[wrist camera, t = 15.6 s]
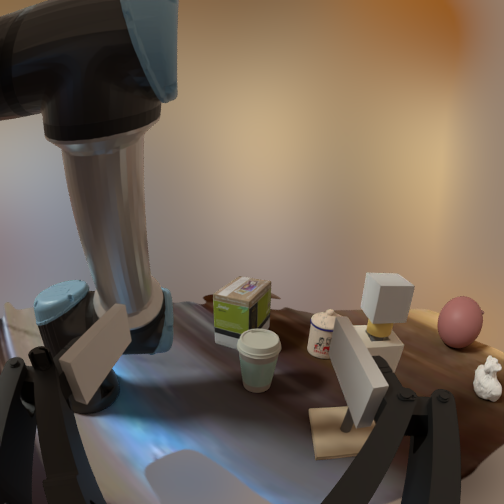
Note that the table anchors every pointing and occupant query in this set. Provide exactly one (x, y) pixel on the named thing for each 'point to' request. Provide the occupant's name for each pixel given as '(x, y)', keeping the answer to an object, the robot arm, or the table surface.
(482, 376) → the bust
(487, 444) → the table surface
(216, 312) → the tea box
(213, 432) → the table surface
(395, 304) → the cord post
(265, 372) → the coffee cup
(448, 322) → the balloon
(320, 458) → the tan slab base
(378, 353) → the marker sleeve
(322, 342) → the teacup with lid
